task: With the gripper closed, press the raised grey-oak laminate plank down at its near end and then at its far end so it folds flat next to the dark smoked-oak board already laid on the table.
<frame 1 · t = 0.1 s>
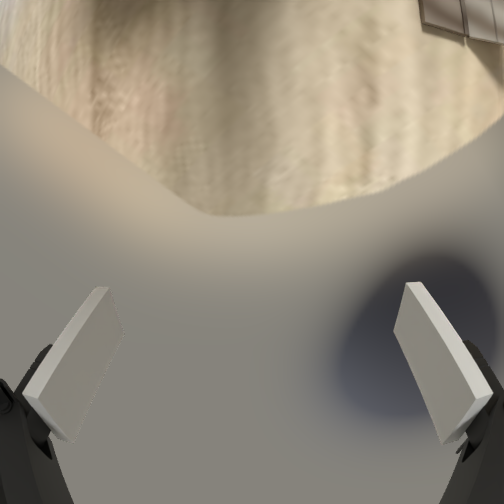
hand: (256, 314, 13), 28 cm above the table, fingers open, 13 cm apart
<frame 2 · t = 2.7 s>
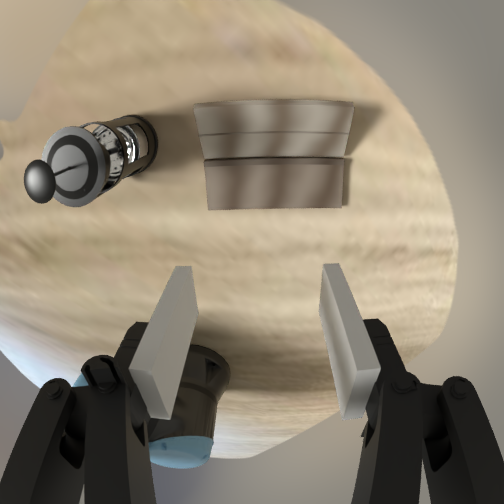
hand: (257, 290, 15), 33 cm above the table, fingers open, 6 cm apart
laid board: (274, 181, 45), on the table
plank: (274, 129, 39), point 3 cm above the table, hinge at 35.0°
french press: (129, 147, 43), on the table
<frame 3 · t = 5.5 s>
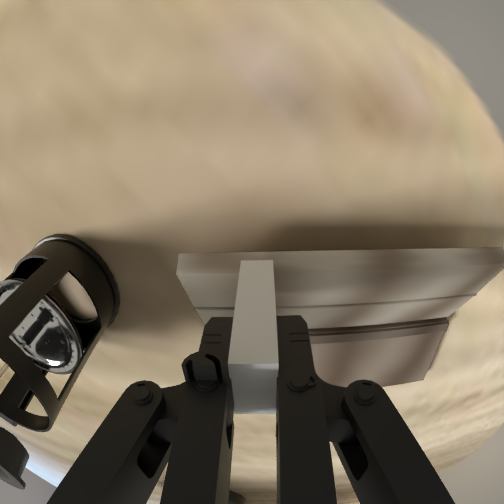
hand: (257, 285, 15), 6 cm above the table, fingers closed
laid board: (331, 355, 25), on the table
plank: (353, 296, 19), point 3 cm above the table, hinge at 32.4°, touching gripper
french press: (72, 288, 23), on the table
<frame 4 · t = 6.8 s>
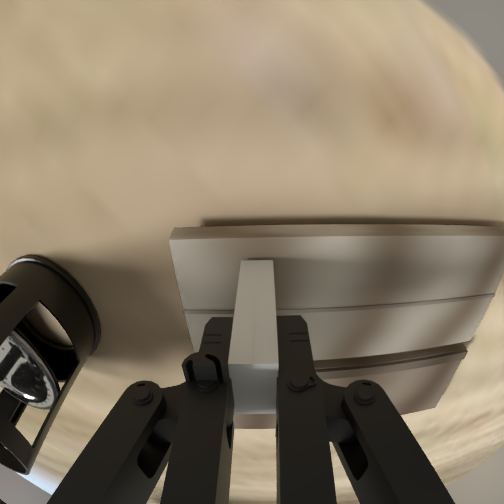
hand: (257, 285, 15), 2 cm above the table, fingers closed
laid board: (337, 387, 22), on the table
plank: (362, 300, 17), point 1 cm above the table, hinge at 6.5°, touching gripper
french press: (50, 313, 20), on the table
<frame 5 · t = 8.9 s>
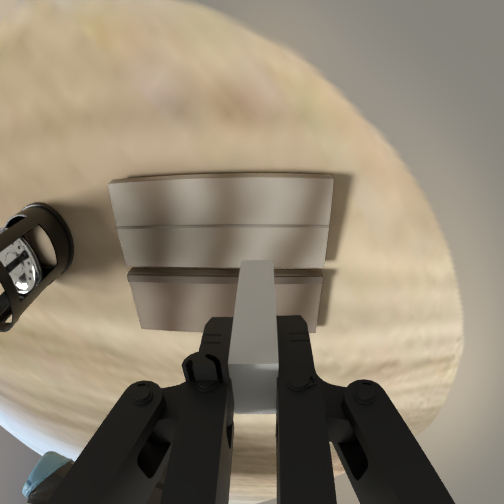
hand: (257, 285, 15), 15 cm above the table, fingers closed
laid board: (224, 299, 33), on the table
plank: (218, 223, 28), point 1 cm above the table, hinge at 6.0°
french press: (43, 242, 31), on the table
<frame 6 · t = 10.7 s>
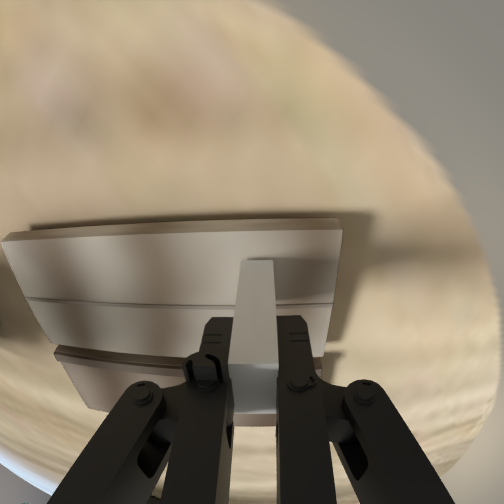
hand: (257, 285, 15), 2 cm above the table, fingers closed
laid board: (183, 386, 22), on the table
plank: (152, 299, 17), point 1 cm above the table, hinge at 6.0°, touching gripper
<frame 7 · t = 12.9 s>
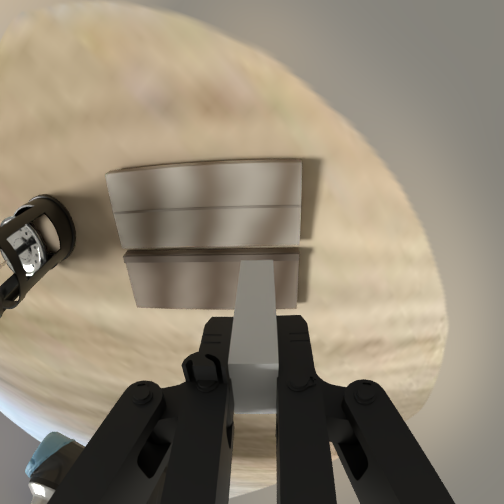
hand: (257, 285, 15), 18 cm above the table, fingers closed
laid board: (211, 277, 37), on the table
plank: (201, 206, 32), point 1 cm above the table, hinge at 5.4°
french press: (48, 231, 35), on the table
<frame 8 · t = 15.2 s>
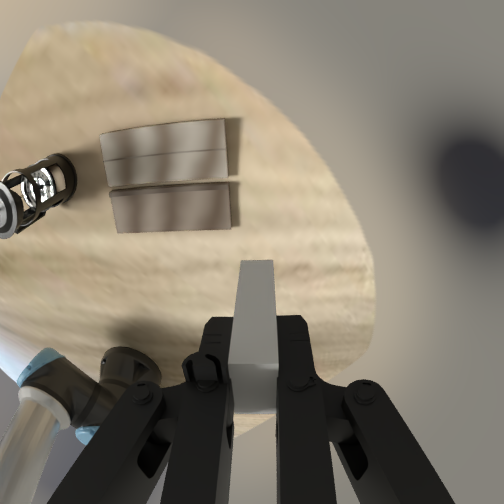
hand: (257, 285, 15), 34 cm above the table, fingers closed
laid board: (169, 207, 50), on the table
plank: (161, 153, 45), point 1 cm above the table, hinge at 5.4°
french press: (57, 180, 48), on the table
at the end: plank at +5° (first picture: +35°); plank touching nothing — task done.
